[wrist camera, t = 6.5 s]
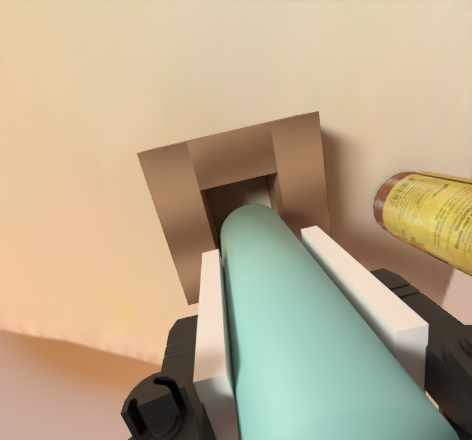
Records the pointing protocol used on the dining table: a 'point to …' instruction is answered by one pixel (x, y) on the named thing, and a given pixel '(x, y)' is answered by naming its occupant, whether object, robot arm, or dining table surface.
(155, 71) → the dining table surface
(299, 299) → the dowel
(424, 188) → the sauce bottle
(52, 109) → the dining table surface
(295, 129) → the socket block
